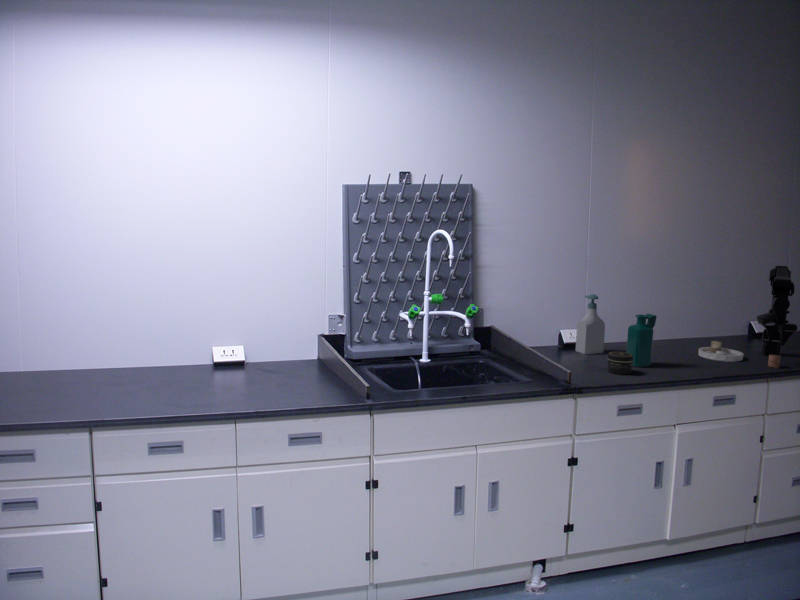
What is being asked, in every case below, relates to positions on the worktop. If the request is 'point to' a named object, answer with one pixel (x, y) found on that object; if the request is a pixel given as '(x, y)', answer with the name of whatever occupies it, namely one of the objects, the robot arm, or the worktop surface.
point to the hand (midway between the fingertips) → (775, 343)
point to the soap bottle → (590, 331)
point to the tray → (721, 354)
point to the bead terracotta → (774, 361)
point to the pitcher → (641, 340)
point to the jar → (619, 363)
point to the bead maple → (715, 346)
